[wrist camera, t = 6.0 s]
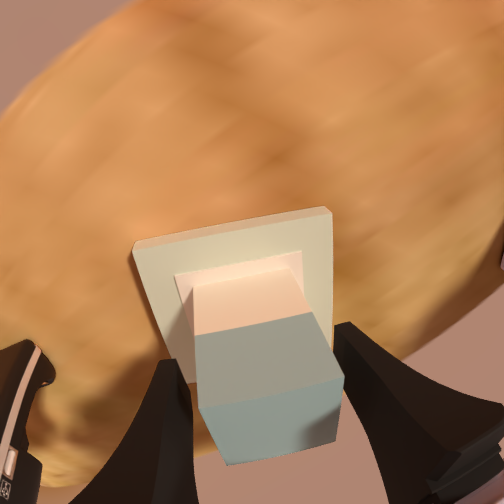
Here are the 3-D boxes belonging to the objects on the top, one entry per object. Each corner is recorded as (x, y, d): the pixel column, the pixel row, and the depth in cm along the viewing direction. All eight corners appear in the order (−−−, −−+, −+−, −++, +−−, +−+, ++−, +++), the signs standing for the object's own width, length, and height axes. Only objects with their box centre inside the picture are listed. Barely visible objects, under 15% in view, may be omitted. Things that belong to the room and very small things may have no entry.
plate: (324, 205, 13) (333, 214, 13) (325, 342, 17) (331, 355, 16) (135, 241, 13) (131, 252, 12) (182, 372, 17) (182, 385, 16)
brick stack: (289, 267, 13) (344, 376, 8) (294, 337, 15) (335, 441, 10) (193, 286, 13) (198, 408, 8) (212, 354, 15) (226, 465, 10)
